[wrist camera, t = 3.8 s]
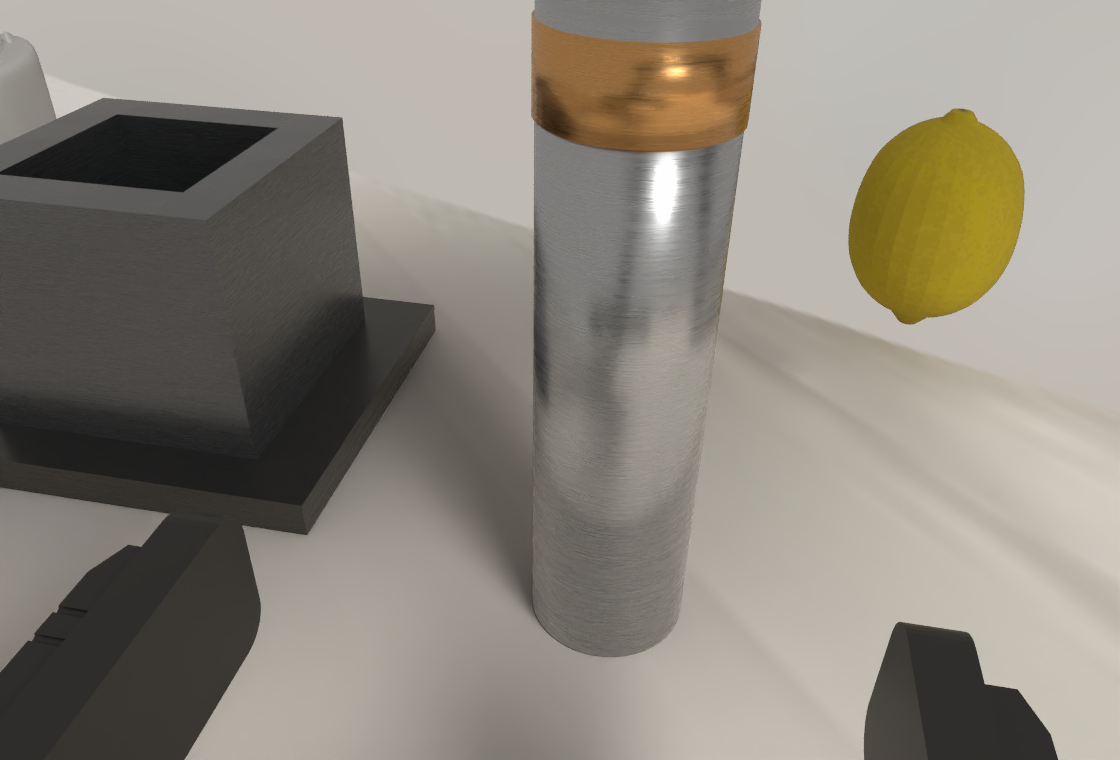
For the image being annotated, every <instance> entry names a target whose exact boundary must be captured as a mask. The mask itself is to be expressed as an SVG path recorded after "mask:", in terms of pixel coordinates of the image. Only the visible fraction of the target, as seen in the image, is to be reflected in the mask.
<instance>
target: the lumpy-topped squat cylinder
mask: <svg viewBox="0 0 1120 760" xmlns="http://www.w3.org/2000/svg"><path fill="white" fill-rule="evenodd" d="M54 120H56V115H55V112H54V108H53V105H52V102H51V98H50V95H49V91H48V88H47V84H46V81H45V78H44V74H43V71H42V68H41V65H40V62H39V58H38V55H37V53H36V51H35V49H34V47H33V46H32V44H31V43H29V42H28V41H27V40H25V39H23V38H20V37H17V36H13V35H12V34H10V33H8V32H4V33H3V34H0V145H1V144H3V143H5V142H8V141H10V140H12V139H14V138H16V137H19V136H21V135H23V134H25V133H27V132H30V131H32V130H34V129H36V128H38V127H41V126H43V125H45V124H47V123H49V122H52V121H54Z"/></svg>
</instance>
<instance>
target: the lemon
mask: <svg viewBox="0 0 1120 760" xmlns="http://www.w3.org/2000/svg"><path fill="white" fill-rule="evenodd" d="M1023 209H1024V180H1023V173H1022V170H1021V167H1020V164H1019V161H1018V159H1017V158H1016V156H1015V154H1014V152H1013V151H1012V149H1011V147H1010V146H1009V145H1008V143H1007V142H1006V141H1005V140H1004V139H1003V138H1002V137H1001V136H1000V135H999V134H998V133H996V132H995V131H994V130H992V129H991V128H989V127H988V126H986V125H984V124H982V123H980V122H978V120H977V118H976V117H975V114H974V113H973V112H972V111H970V110H966V109H952V110H951V111H950V112H949V113H947V114H946V115H945V116H943V117H940V118H934V119H930V120H926V121H923V122H920V123H918V124H915V125H913V126H911V127H909V128H907V129H906V130H904V131H902V132H901V133H899V134H898V135H897V136H895V138H893V139H892V140H890V141H889V142H888V143H887V144H886V145H885V146H884V147H883V148H882V149H881V150H880V151H879V153H878V154H877V155H876V157H875V158H874V160H873V161H872V163H871V165H870V167H869V168H868V170H867V172H866V174H865V176H864V178H863V181H862V183H861V185H860V188H859V190H858V193H857V196H856V199H855V203H854V207H853V210H852V214H851V219H850V225H849V254H850V258H851V263H852V265H853V268H854V271H855V273H856V276H857V278H858V280H859V282H860V284H861V285H862V286H863V288H864V289H865V290H866V291H867V293H868V294H869V295H870V296H871V297H872V298H873V299H875V300H876V301H877V302H878V303H880V304H881V305H883V306H884V307H886V308H888V309H890V310H892V312H893V313H894V315H895V316H896V317H897V319H898V320H899V321H900V322H902V323H905V324H915V323H917V322H919V321H921V320H922V319H925V318H926V317H938V316H944V315H948V314H952V313H954V312H957V311H959V310H962V309H964V308H966V307H968V306H969V305H971V304H973V303H974V302H976V301H977V300H978V299H979V298H981V297H982V296H983V295H984V294H985V293H986V292H987V291H988V290H989V289H991V287H992V286H993V285H994V284H995V283H996V282H997V281H998V279H999V277H1000V276H1001V275H1002V273H1003V272H1004V270H1005V268H1006V267H1007V265H1008V263H1009V261H1010V259H1011V256H1012V254H1013V251H1014V249H1015V246H1016V243H1017V239H1018V235H1019V231H1020V227H1021V222H1022V217H1023Z"/></svg>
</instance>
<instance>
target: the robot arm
mask: <svg viewBox="0 0 1120 760" xmlns="http://www.w3.org/2000/svg"><path fill="white" fill-rule="evenodd" d="M260 614H261V604H260V598H259V594H258V589H257V585H256V581H255V577H254V572H253V568H252V564H251V560H250V556H249V551H248V547H247V543H246V539H245V535H244V531H243V528H242V525H241V524H240V522H239V521H238V520H236V519H234V518H228V517H221V516H215V515H208V514H201V513H195V512H188V511H181V510H179V511H175V512H173V513H171V514H170V515H168V516H167V517H166V518H165V519H164V520H163V521H162V523H161V524H160V525H159V526H158V528H157V529H156V530H155V531H154V532H153V534H152V535H151V536H150V537H149V538H148V540H147V541H146V542H145V543H144V544H143V546H142V547H138V546H132V545H128V546H126V547H125V548H123V549H122V550H120V551H119V552H117V553H116V554H114V555H112V556H111V557H109V558H108V559H106V560H105V561H103V562H102V563H100V564H99V565H97V566H96V567H94V568H93V569H91V570H90V571H88V572H87V574H86V575H85V576H84V577H83V578H82V579H81V580H80V582H79V583H78V584H77V585H76V586H75V587H74V588H73V590H72V591H71V592H70V593H69V594H68V595H67V597H66V598H65V599H64V600H63V601H62V602H61V603H60V605H59V609H58V611H57V613H54V612H53V613H52V614H51V615H50V616H49V617H48V618H47V620H46V621H45V622H44V623H43V624H42V625H41V626H40V628H39V629H38V630H37V631H36V632H35V633H34V634H35V637H34V639H33V640H32V641H27V643H26V644H25V645H24V646H23V647H22V648H21V649H20V651H19V652H18V653H17V654H16V655H15V656H14V657H13V659H12V660H11V661H10V662H9V663H8V664H7V666H6V667H5V668H4V669H3V670H2V671H1V672H0V760H184V759H185V758H186V756H187V754H188V753H189V751H190V749H191V748H192V746H193V744H194V743H195V741H196V740H197V738H198V736H199V735H200V733H201V731H202V730H203V728H204V726H205V725H206V723H207V721H208V720H209V718H210V716H211V715H212V713H213V711H214V710H215V708H216V706H217V705H218V703H219V701H220V700H221V698H222V696H223V695H224V693H225V691H226V690H227V688H228V686H229V685H230V683H231V681H232V680H233V678H234V676H235V675H236V673H237V671H238V670H239V668H240V666H241V665H242V663H243V661H244V660H245V658H246V656H247V655H248V653H249V651H250V649H251V647H252V645H253V643H254V640H255V638H256V635H257V631H258V627H259V622H260ZM864 760H1058V758H1057V754H1056V751H1055V748H1054V744H1053V741H1052V738H1051V734H1050V733H1049V732H1048V730H1047V729H1046V727H1045V726H1044V725H1043V723H1042V722H1041V721H1040V719H1039V718H1038V717H1037V715H1036V714H1035V713H1034V711H1033V710H1032V708H1031V707H1030V706H1029V704H1028V703H1027V702H1026V700H1025V699H1024V698H1023V696H1022V695H1021V693H1020V692H1019V691H1018V689H1011V688H1005V687H999V686H993V685H986V684H984V680H983V676H982V671H981V667H980V663H979V659H978V655H977V651H976V647H975V644H974V641H973V639H972V637H971V636H970V634H969V633H967V632H962V631H956V630H949V629H943V628H936V627H929V626H923V625H916V624H910V623H903V622H898V623H897V624H896V625H895V627H894V629H893V631H892V634H891V637H890V640H889V643H888V646H887V649H886V653H885V656H884V659H883V662H882V665H881V668H880V671H879V674H878V677H877V680H876V683H875V686H874V689H873V692H872V696H871V699H870V702H869V705H868V709H867V715H866V721H865V732H864Z"/></svg>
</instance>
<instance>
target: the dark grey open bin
mask: <svg viewBox="0 0 1120 760" xmlns="http://www.w3.org/2000/svg"><path fill="white" fill-rule="evenodd" d="M434 331H435V315H434V305H428V304H419V303H410V302H402V301H393V300H384V299H375V298H366V297H362V288H361V279H360V270H359V261H358V252H357V244H356V235H355V226H354V217H353V208H352V200H351V191H350V182H349V173H348V165H347V156H346V148H345V138H344V130H343V120H342V118H340V117H329V116H316V115H304V114H291V113H279V112H267V111H255V110H243V109H231V108H219V107H207V106H195V105H182V104H171V103H158V102H146V101H145V102H144V101H134V100H122V99H110V98H102V99H100V100H98V101H96V102H94V103H91V104H89V105H87V106H85V107H82V108H80V109H78V110H76V111H74V112H71V113H69V114H67V115H65V116H63V117H60V118H58V119H56V120H54V121H52V122H49V123H47V124H45V125H43V126H41V127H38V128H36V129H34V130H32V131H30V132H27V133H25V134H23V135H21V136H19V137H16V138H14V139H12V140H10V141H8V142H5V143H3V144H1V145H0V487H5V488H11V489H18V490H24V491H30V492H37V493H43V494H50V495H56V496H62V497H69V498H75V499H81V500H88V501H94V502H101V503H107V504H113V505H120V506H126V507H133V508H139V509H145V510H152V511H158V512H164V513H173V512H175V511H179V510H181V511H188V512H195V513H201V514H208V515H215V516H221V517H228V518H234V519H236V520H238V521H239V522H240V524H241V525H247V526H254V527H260V528H266V529H273V530H279V531H286V532H292V533H298V534H305V535H307V534H308V532H309V531H310V529H311V528H312V526H313V524H314V523H315V521H316V520H317V518H318V516H319V515H320V513H321V512H322V510H323V508H324V507H325V505H326V504H327V502H328V500H329V499H330V497H331V496H332V494H333V492H334V491H335V489H336V488H337V486H338V484H339V483H340V481H341V480H342V478H343V476H344V475H345V473H346V472H347V470H348V469H349V467H350V465H351V464H352V462H353V461H354V459H355V457H356V456H357V454H358V453H359V451H360V449H361V448H362V446H363V445H364V443H365V441H366V440H367V438H368V437H369V435H370V433H371V432H372V430H373V429H374V427H375V425H376V424H377V422H378V421H379V419H380V417H381V416H382V414H383V413H384V411H385V409H386V408H387V406H388V405H389V403H390V401H391V400H392V398H393V397H394V395H395V393H396V392H397V390H398V389H399V387H400V385H401V384H402V382H403V381H404V379H405V377H406V376H407V374H408V373H409V371H410V369H411V368H412V366H413V365H414V363H415V361H416V360H417V358H418V357H419V355H420V353H421V352H422V350H423V349H424V347H425V345H426V344H427V342H428V341H429V339H430V337H431V336H432V334H433V333H434Z"/></svg>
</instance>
